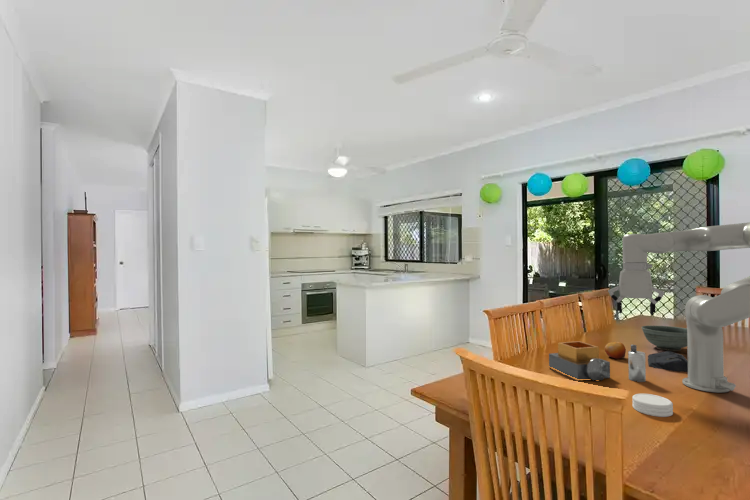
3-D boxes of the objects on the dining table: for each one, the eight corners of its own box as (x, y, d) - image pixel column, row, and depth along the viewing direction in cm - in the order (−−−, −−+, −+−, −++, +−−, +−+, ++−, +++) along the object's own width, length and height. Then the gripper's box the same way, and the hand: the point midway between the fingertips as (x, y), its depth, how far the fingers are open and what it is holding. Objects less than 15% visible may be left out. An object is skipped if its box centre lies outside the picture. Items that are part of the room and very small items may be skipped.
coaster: (634, 401, 123) (634, 390, 123) (673, 409, 117) (673, 397, 117) (630, 412, 116) (630, 400, 116) (672, 420, 109) (672, 408, 109)
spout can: (649, 381, 141) (648, 347, 141) (637, 382, 140) (637, 348, 140) (636, 376, 146) (636, 343, 146) (625, 377, 145) (624, 344, 145)
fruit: (634, 356, 168) (624, 340, 168) (618, 366, 168) (609, 350, 168) (623, 351, 176) (613, 336, 176) (608, 360, 176) (598, 345, 176)
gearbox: (614, 379, 143) (614, 349, 143) (581, 383, 140) (581, 352, 140) (578, 365, 161) (578, 339, 161) (549, 368, 158) (548, 341, 158)
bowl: (651, 353, 177) (651, 331, 177) (635, 342, 197) (635, 323, 197) (706, 356, 171) (705, 333, 171) (683, 345, 191) (683, 324, 191)
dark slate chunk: (689, 360, 167) (689, 349, 167) (697, 375, 148) (697, 362, 148) (646, 356, 175) (646, 345, 175) (648, 368, 157) (648, 357, 157)
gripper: (662, 267, 142) (663, 313, 142) (607, 266, 151) (608, 310, 151) (665, 268, 136) (666, 316, 136) (608, 267, 144) (609, 313, 144)
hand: (635, 313), depth 143 cm, fingers open, 9 cm apart
